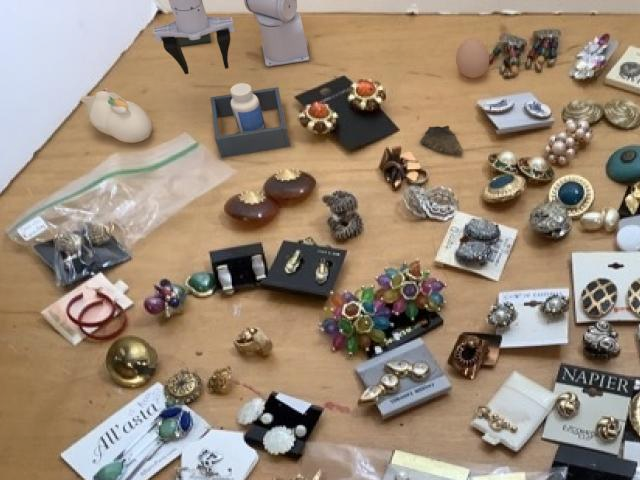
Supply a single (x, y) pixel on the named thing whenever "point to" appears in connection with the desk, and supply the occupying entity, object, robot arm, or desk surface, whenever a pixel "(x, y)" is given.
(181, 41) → the pad
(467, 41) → the egg
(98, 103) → the cat figurine
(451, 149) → the arrowhead
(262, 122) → the pill bottle
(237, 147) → the open box
